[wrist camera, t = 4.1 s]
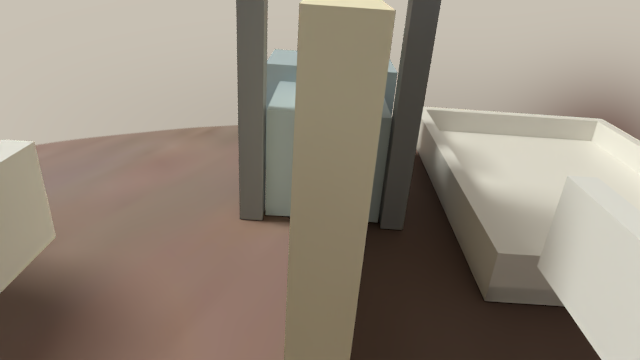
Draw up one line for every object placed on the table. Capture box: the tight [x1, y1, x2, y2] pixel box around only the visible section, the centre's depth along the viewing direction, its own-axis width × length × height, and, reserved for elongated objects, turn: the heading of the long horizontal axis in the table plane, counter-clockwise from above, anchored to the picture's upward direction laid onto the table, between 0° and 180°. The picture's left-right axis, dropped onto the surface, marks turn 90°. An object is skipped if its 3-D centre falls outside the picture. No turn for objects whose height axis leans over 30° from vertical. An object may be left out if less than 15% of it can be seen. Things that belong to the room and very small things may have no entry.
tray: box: [416, 107, 640, 306], centre depth 28 cm, size 16×21×2 cm
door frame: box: [236, 0, 441, 230], centre depth 26 cm, size 9×12×14 cm
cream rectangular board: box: [284, 0, 396, 360], centre depth 19 cm, size 2×15×12 cm, turn 179°
